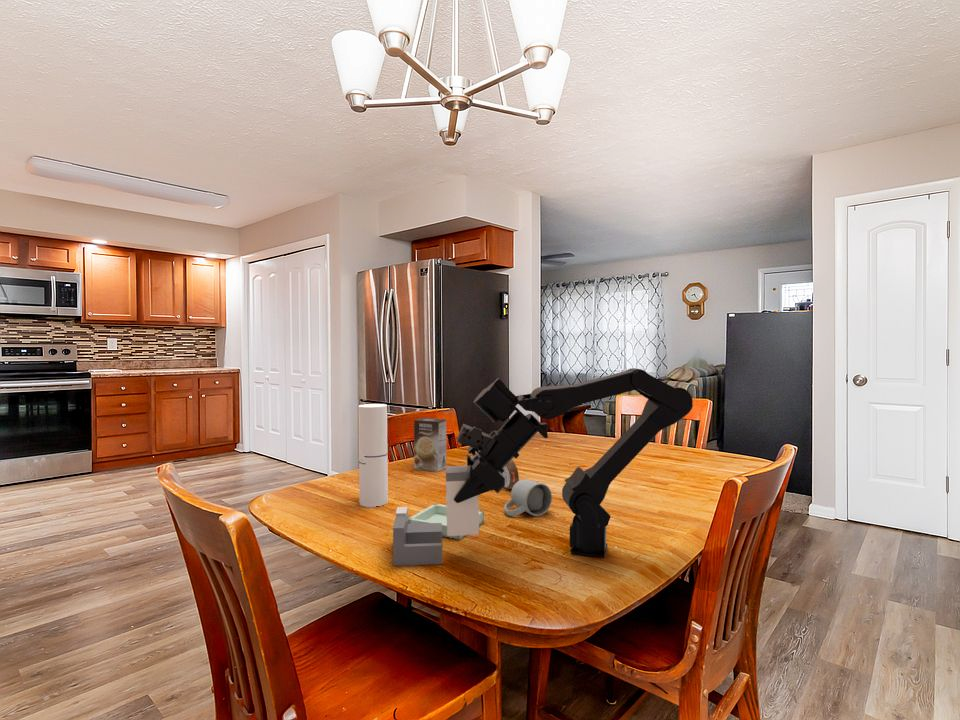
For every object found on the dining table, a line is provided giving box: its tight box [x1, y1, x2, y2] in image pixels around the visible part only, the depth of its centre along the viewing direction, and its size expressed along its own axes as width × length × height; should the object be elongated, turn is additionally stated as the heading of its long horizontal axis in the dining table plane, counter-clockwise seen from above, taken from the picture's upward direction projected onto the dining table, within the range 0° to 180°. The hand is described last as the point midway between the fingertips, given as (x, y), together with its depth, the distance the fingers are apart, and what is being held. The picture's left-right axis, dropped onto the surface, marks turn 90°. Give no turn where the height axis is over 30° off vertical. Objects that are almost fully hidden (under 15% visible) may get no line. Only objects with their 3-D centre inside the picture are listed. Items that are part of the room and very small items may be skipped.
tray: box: [408, 503, 485, 541], centre depth 119 cm, size 13×12×2 cm
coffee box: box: [413, 417, 447, 473], centre depth 172 cm, size 9×6×16 cm
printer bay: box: [392, 506, 443, 567], centre depth 104 cm, size 9×12×7 cm
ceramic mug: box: [503, 479, 553, 517], centre depth 128 cm, size 11×8×8 cm
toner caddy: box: [445, 465, 480, 536], centre depth 103 cm, size 6×5×12 cm
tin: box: [502, 459, 520, 490], centre depth 152 cm, size 15×3×8 cm, turn 22°
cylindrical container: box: [357, 403, 389, 508], centre depth 136 cm, size 7×7×25 cm
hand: (454, 497), depth 103 cm, fingers closed on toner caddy, 5 cm apart
